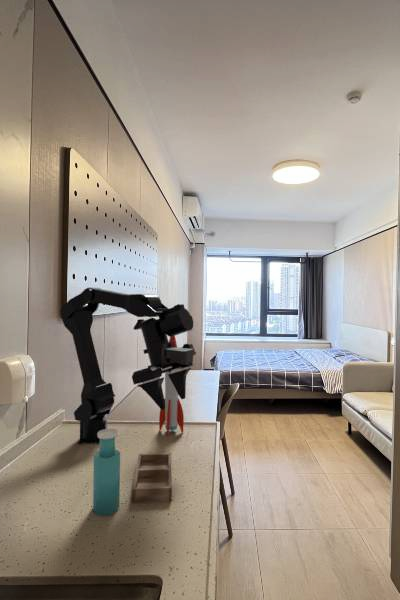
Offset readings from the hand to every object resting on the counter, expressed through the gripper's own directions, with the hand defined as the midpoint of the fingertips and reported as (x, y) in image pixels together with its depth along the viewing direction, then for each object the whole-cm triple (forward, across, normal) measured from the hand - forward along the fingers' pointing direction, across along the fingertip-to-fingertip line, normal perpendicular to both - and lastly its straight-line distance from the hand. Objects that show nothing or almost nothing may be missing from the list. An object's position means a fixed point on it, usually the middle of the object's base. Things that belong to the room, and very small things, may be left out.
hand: (173, 403), depth 83 cm
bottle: (+13, -22, +6) cm, 26 cm away
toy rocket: (+10, +15, +14) cm, 23 cm away
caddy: (+14, -10, +4) cm, 17 cm away
